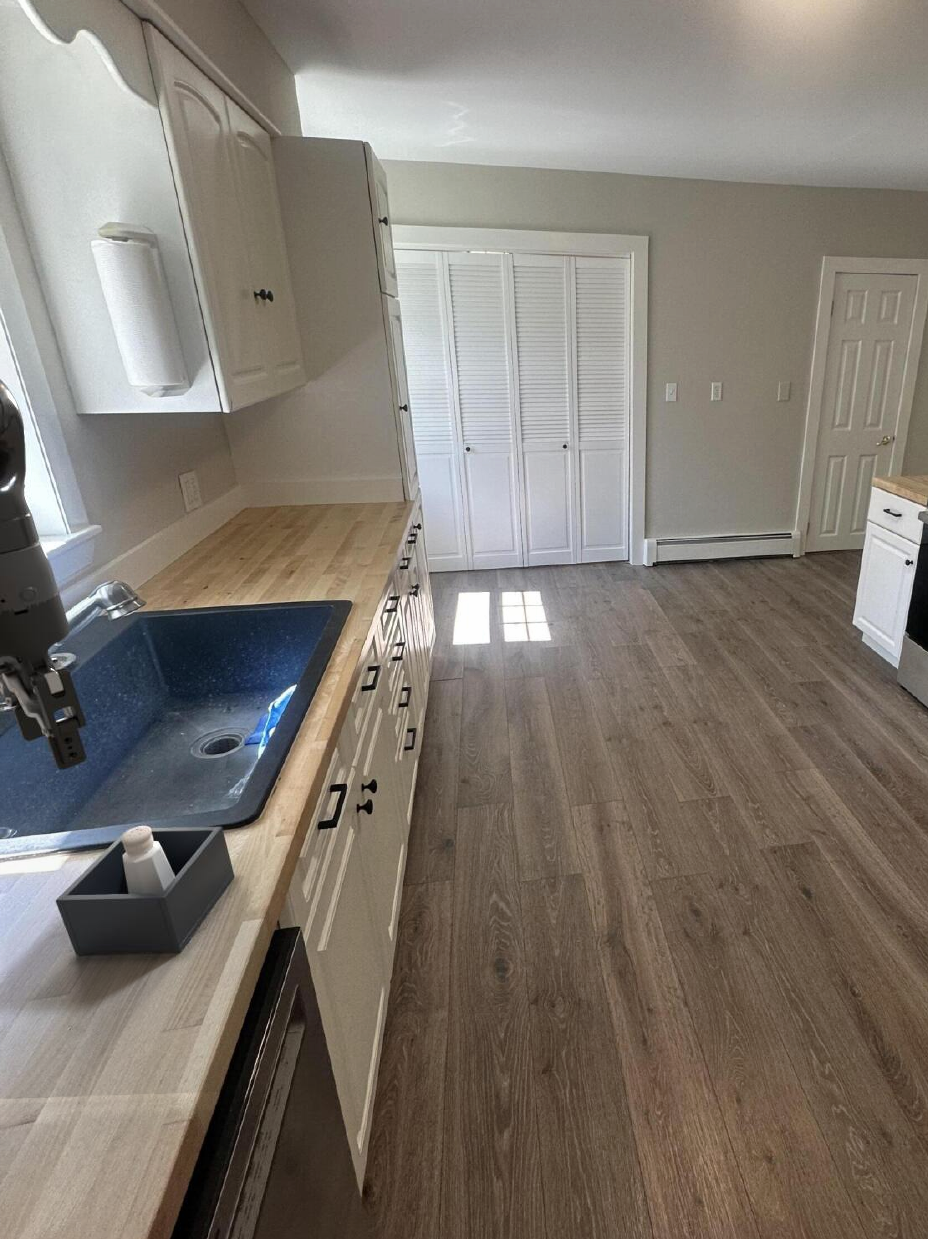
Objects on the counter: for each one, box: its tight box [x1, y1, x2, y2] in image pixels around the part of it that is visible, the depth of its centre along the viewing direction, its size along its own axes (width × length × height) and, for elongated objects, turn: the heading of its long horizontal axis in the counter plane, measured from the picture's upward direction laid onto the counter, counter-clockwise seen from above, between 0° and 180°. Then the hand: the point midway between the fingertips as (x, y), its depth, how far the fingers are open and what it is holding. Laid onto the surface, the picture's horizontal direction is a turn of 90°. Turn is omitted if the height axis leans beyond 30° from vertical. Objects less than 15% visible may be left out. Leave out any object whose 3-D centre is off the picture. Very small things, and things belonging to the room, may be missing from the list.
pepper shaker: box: [121, 825, 175, 894], centre depth 76 cm, size 5×5×11 cm
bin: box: [55, 826, 236, 956], centre depth 77 cm, size 11×11×8 cm
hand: (54, 750), depth 65 cm, fingers open, 8 cm apart
